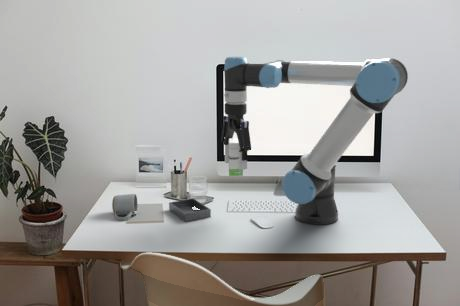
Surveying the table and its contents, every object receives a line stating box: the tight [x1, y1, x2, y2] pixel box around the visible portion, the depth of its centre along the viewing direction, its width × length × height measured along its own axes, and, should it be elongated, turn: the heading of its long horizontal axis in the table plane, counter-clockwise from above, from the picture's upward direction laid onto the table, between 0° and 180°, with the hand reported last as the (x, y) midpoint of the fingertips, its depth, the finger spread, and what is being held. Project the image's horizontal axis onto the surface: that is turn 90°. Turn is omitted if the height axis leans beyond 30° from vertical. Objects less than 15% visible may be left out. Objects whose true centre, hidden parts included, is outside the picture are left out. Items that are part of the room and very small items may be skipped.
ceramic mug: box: [111, 193, 139, 222], centre depth 204 cm, size 11×8×8 cm
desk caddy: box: [168, 198, 212, 223], centre depth 207 cm, size 10×14×3 cm
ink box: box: [228, 137, 244, 177], centre depth 199 cm, size 9×5×12 cm, turn 0°
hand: (235, 165), depth 200 cm, fingers closed on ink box, 9 cm apart
